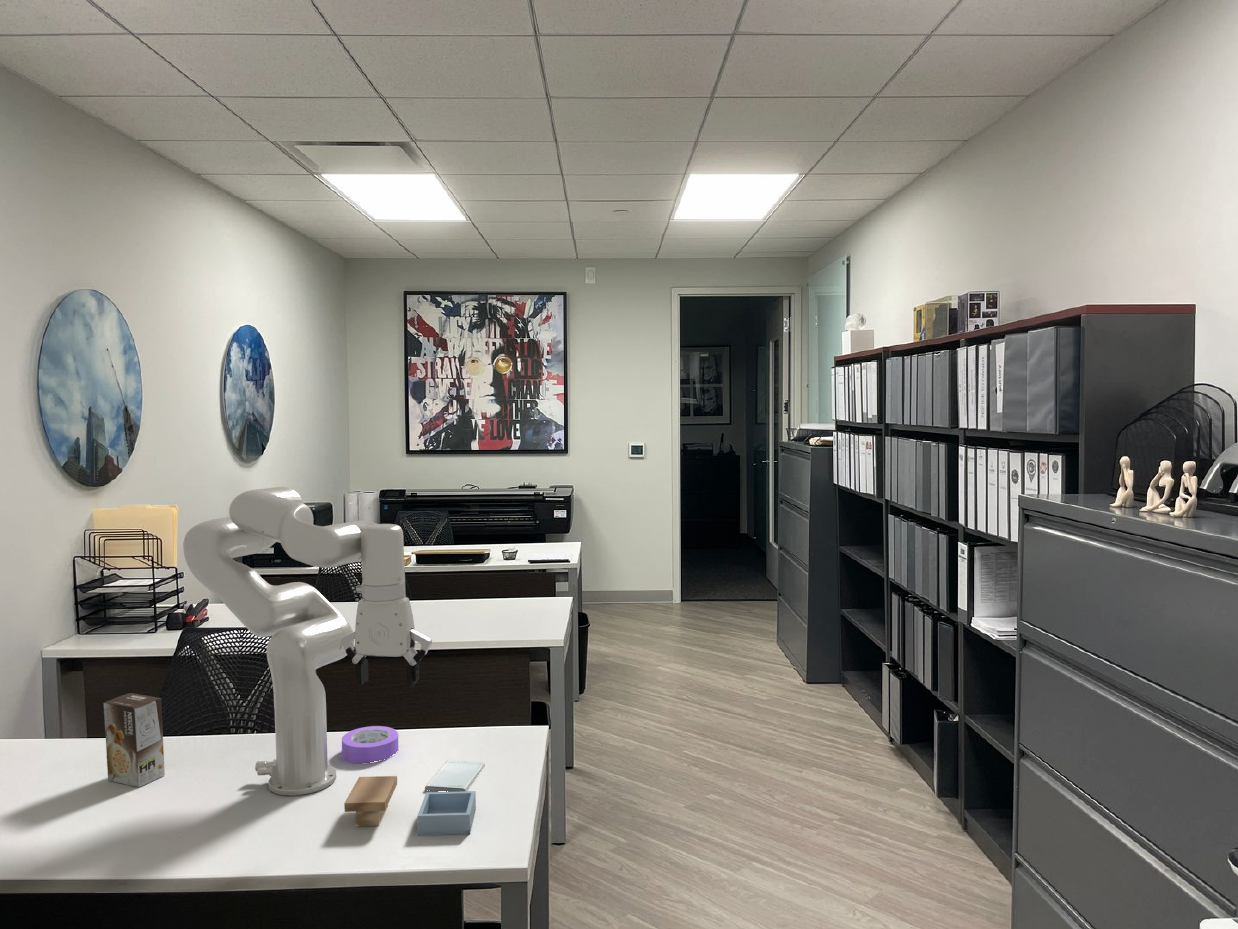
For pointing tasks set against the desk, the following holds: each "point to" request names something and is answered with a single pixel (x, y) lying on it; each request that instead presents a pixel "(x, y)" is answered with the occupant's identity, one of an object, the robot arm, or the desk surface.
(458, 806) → the light blue open tray
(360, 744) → the masking tape
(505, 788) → the desk surface
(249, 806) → the desk surface
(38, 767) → the desk surface
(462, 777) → the hard drive
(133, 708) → the coffee box
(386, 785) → the lid
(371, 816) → the wooden block
